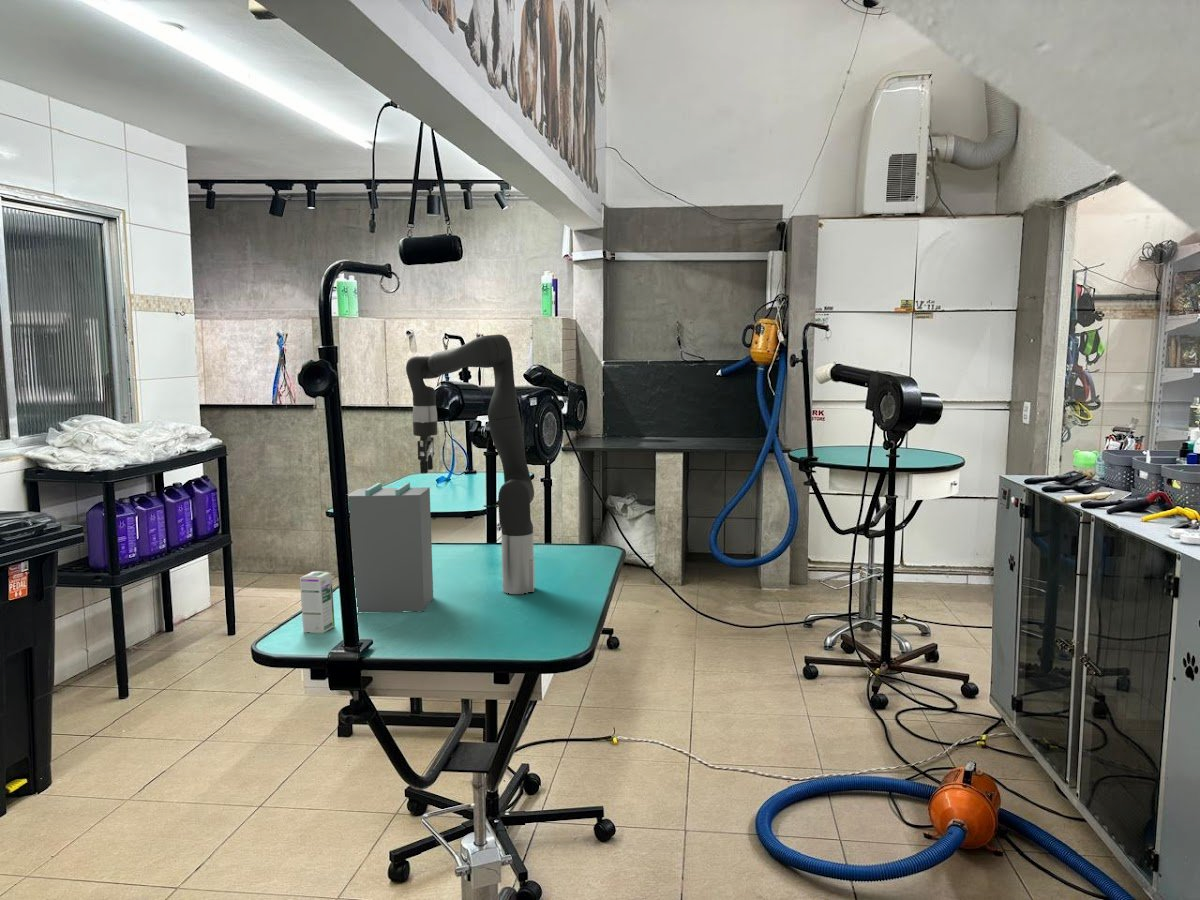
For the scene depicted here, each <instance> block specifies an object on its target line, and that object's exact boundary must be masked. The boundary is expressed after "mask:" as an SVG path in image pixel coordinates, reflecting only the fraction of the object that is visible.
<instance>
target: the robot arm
mask: <svg viewBox="0 0 1200 900" xmlns="http://www.w3.org/2000/svg"><path fill="white" fill-rule="evenodd" d="M464 368H484V369H489V368H493V375H494V377H493V378H494V388H493V393H492V396H491V398H490V402H489V404H488V405H489V406H488V410H487V419H488V425H489V433H490V436H491V439H492V442H493V445H494V448H495V449H496V452H497V454H498V456H499V458H500V461H501V465H502V470H503V480H504V481H503V484H502V485H501V486H500V488H499V491H498V496H497V497H498V501H497V502H498V503H497V504H498V519H499V526H500V530H501V560H502V562H501V565H502V566H501V568H502V569H501V570H502V591H504V592H503V593H504V594H508V593H509V595H525V594H524V593H526V594H529V593H528V592H535V589H536V577H535V576H536V575H535V572H536V570H535V555H534V554H535V553H534V524H533V522H532V520H531V503H532V501H533V500H534V497H535V496H534V495H535V488H534V484H533V481H532V478H531V475H530V470H529V466H528V462H527V457H526V449H525V441H524V434H523V427H522V420H521V414H520V410H519V405H518V398H517V391H516V385H515V374H514V361H513V350H512V347H511V344H510V341H509V339H508V338H507V336H505V335H503V334H488V335H480V336H477V337H475V338H473V339H472V340H470V341H468V342H465V344H463V345H460V346H458V347H454V348H449V349H445V350H440V351H437V352H434V353H432V354H431V355H430V356H427V355H425V356H423V355H421V356H418V355H417V356H412V357H410V358H409V359H408V360H407V362H406V366H405V371H406V372H405V373H406V375H407V379H408V383H409V385H410V388H411V392H412V430H413V431H412V432H413V436H415V437H419V440H417V460H418V461H419V467H420V469H419V470H420V474H428V473H429V471H431V470H433V469H434V464H433V463H434V461H433V458H434V455H435V446H434V444H435V441H434V439H435V438H434V436H437V435H438V433H439V432H438V411H437V401H436V399H437V398H436V390H435V387H432V386H427V385H426V382H425V380H428V379H429V380H431V379H437V378H440V377H441V376H444V375H447V374H452V373H455V372H458V371H460V370H462V369H464ZM534 588H535V589H534Z"/></svg>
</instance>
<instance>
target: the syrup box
mask: <svg viewBox="0 0 1200 900" xmlns="http://www.w3.org/2000/svg"><path fill="white" fill-rule="evenodd" d="M332 577H333V575H332V572H331V571H324V570H323V571H321V570H320V571H319V570H317V571H311V572H309V573H306V574H305V575H303V576H300V577H299V585H300V587H299V588H300V589H299V590H300V603H301V615H302V616H301V617H302V630H303V633H307V632H310V633H309V634H325V632H328V631H329V630H331V629H333V628H334V627H335V625H336V624H335V610H334V608H335V607H334V593H333V591H334V590H333V579H332Z"/></svg>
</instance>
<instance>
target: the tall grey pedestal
mask: <svg viewBox="0 0 1200 900" xmlns="http://www.w3.org/2000/svg"><path fill="white" fill-rule="evenodd" d="M430 489H431V488H430V487H411V482H405V483H404V484H402V485H401V486H399V487H383V485H382V482H378V483H375V484H374V485H372V486H370V487H369V488H367V487H366V488H364V487H363V488H356V489H355V490H354V491H352V492H349V493H348V494H347V495H348V497H349V511H350V527H351V538H352V549H353V560H354V571H355V588H356V598H357V607H358V613H357V614H360V613H359V612H393V613H404V612H403V611H424V612H425V611H426V610H427V608H428V607H427V606H429V605H430V604H431V602H432V601H431V600H433V599H434V579H433V578H434V577H433V551H432V550H433V549H432V547H433V546H432V545H433V544H432V523H431V522H432V520H431V518H432V517H431V516H432V515H431V490H430ZM430 601H431V602H430ZM429 603H430V604H429ZM425 609H426V610H425Z"/></svg>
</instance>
